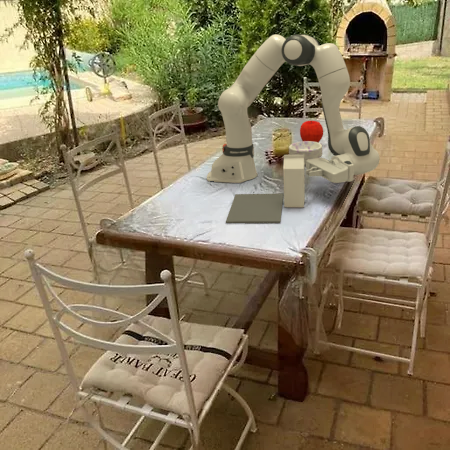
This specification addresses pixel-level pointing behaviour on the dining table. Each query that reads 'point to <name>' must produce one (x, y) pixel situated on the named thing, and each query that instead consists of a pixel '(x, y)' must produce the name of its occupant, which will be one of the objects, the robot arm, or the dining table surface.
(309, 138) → the apple
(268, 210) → the mat
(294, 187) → the milk carton
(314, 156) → the paper bowls
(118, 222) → the dining table surface
